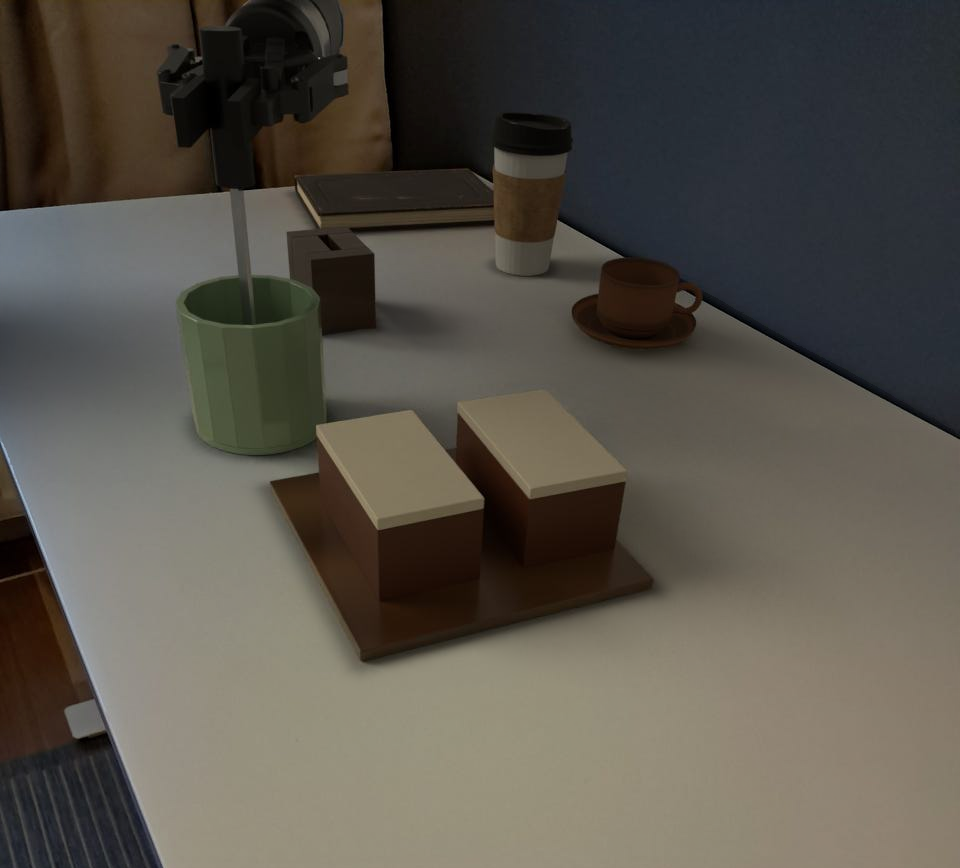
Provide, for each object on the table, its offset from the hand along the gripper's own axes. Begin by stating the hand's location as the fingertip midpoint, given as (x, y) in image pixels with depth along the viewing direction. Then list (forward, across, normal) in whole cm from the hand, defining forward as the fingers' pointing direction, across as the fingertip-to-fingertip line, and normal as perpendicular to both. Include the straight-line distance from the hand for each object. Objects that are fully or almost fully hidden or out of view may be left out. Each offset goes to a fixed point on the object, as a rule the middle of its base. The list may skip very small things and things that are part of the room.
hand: (208, 124), depth 59 cm
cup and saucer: (-27, -32, -23) cm, 48 cm away
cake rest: (+11, -12, -22) cm, 27 cm away
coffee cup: (-44, -22, -23) cm, 54 cm away
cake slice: (+7, -21, -22) cm, 31 cm away
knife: (-5, 0, -18) cm, 18 cm away
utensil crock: (-5, 0, -23) cm, 23 cm away
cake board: (+9, -16, -23) cm, 29 cm away
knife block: (-28, -3, -23) cm, 36 cm away
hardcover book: (-63, -6, -23) cm, 67 cm away
